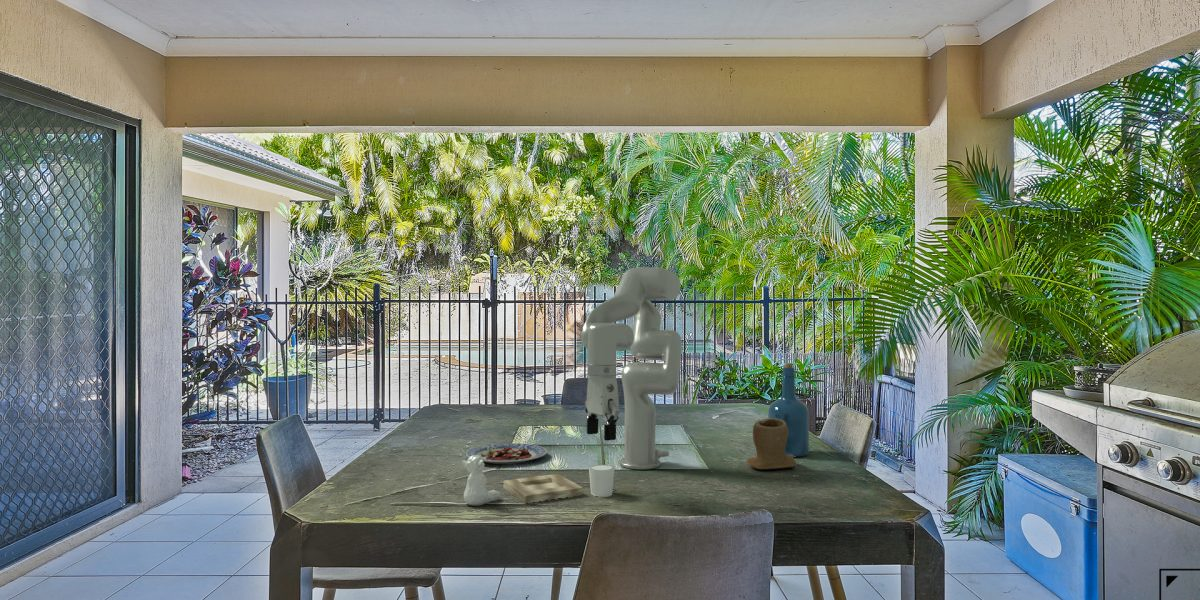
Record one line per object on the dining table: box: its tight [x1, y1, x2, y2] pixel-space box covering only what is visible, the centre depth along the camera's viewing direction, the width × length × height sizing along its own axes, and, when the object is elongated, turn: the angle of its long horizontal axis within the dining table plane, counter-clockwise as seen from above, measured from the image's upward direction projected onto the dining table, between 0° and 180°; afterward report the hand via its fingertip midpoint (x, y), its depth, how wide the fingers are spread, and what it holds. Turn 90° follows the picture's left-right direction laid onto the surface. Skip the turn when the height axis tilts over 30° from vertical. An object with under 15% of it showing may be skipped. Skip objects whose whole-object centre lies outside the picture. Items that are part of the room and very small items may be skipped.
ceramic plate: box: [465, 442, 548, 465], centre depth 219 cm, size 26×26×3 cm
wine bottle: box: [767, 362, 810, 458], centre depth 226 cm, size 14×13×30 cm
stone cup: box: [746, 417, 798, 470], centre depth 206 cm, size 15×12×15 cm
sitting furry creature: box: [461, 455, 502, 506], centre depth 171 cm, size 10×9×12 cm
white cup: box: [588, 464, 616, 498], centre depth 178 cm, size 7×7×7 cm
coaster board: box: [502, 473, 584, 505], centre depth 180 cm, size 16×16×2 cm
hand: (601, 436), depth 178 cm, fingers open, 9 cm apart
